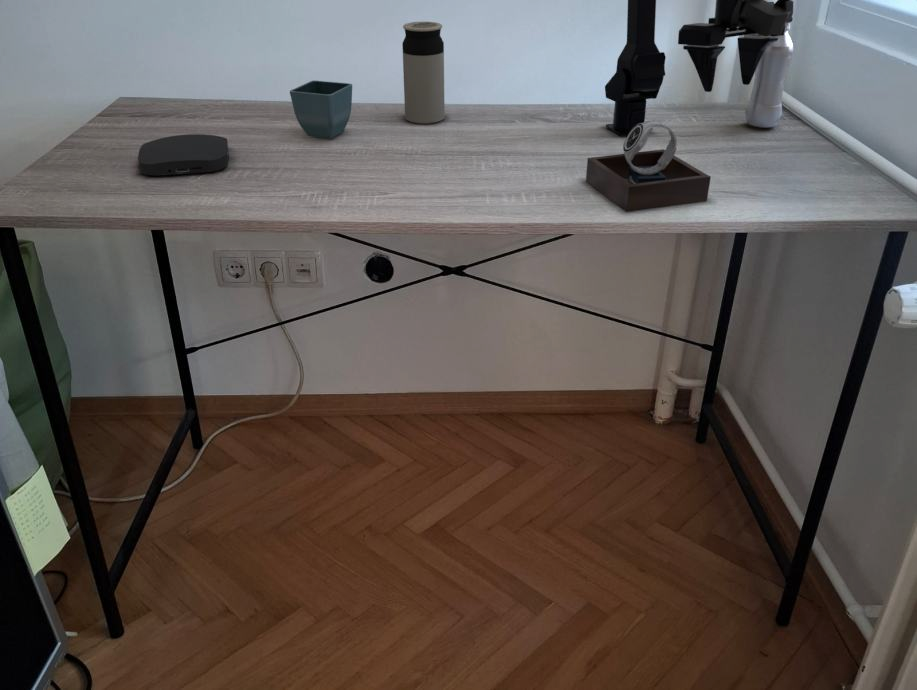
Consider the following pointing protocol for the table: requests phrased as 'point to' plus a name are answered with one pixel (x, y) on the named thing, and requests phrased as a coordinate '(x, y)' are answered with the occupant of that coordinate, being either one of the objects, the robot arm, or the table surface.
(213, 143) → the media streaming box
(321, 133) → the flower pot
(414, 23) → the travel mug
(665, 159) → the watch
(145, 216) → the table surface
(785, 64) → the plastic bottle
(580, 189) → the table surface
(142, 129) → the table surface
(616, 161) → the tray
